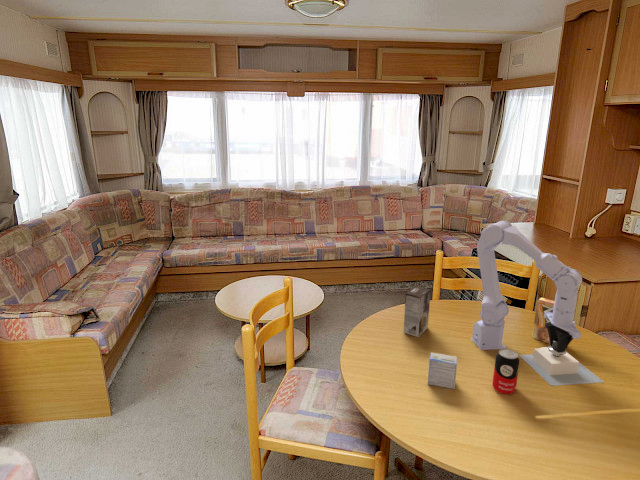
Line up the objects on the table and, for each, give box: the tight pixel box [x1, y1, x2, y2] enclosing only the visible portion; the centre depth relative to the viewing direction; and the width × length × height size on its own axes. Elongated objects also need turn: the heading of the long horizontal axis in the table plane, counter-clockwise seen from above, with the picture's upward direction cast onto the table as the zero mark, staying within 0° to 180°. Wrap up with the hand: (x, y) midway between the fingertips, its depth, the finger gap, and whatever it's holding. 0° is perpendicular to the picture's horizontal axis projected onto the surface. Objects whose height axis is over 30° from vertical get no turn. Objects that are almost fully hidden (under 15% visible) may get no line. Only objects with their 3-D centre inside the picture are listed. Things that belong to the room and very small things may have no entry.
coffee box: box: [403, 285, 431, 338], centre depth 155 cm, size 9×6×16 cm
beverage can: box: [491, 348, 521, 395], centre depth 120 cm, size 6×6×12 cm
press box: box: [533, 346, 580, 375], centre depth 133 cm, size 9×11×4 cm
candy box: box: [531, 297, 555, 345], centre depth 147 cm, size 9×4×15 cm, turn 44°
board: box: [518, 353, 605, 387], centre depth 132 cm, size 17×17×1 cm
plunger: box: [547, 339, 567, 357], centre depth 131 cm, size 5×5×8 cm
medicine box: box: [427, 352, 458, 390], centre depth 124 cm, size 8×4×9 cm, turn 71°
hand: (557, 348), depth 131 cm, fingers closed on plunger, 3 cm apart
